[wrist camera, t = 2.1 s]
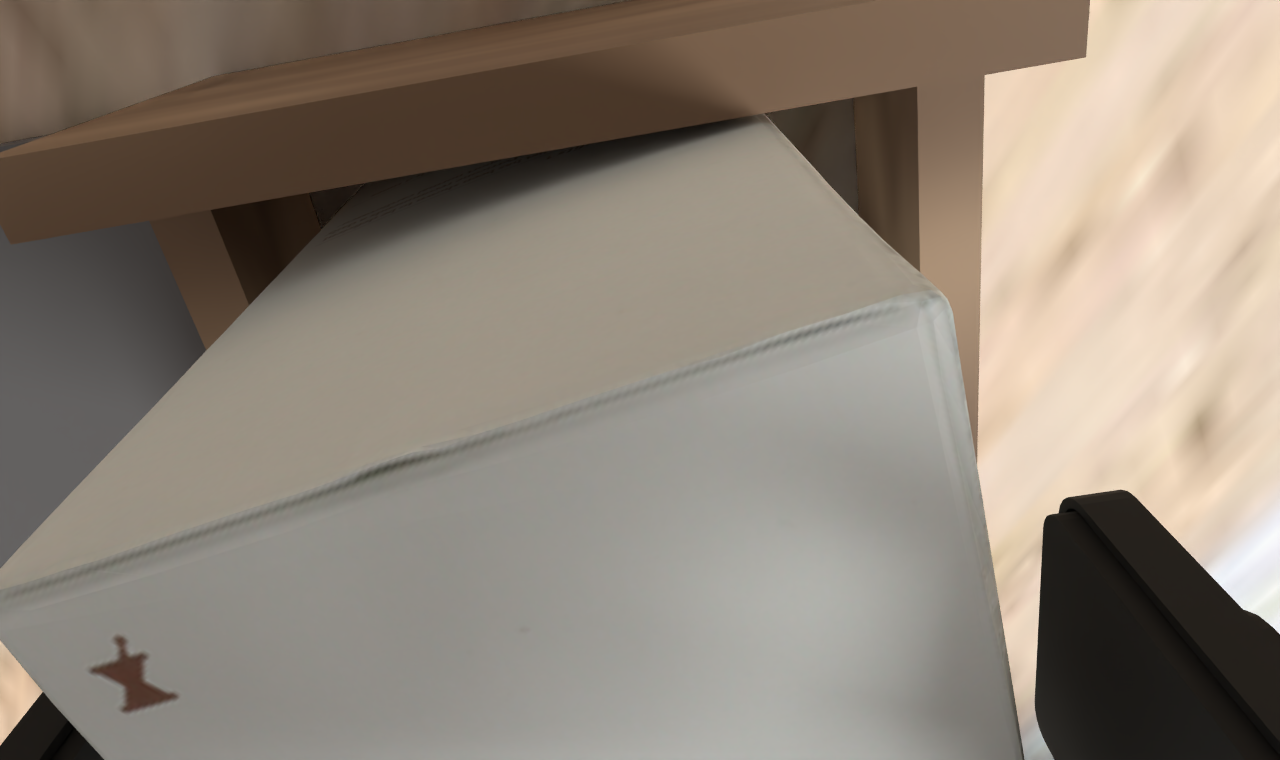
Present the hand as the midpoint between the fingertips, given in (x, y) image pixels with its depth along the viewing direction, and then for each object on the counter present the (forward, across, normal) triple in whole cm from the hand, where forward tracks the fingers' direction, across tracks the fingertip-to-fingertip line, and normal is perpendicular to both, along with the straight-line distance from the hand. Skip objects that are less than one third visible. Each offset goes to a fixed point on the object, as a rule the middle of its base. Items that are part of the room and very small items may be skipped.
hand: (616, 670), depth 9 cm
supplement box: (+11, 0, -1) cm, 11 cm away
